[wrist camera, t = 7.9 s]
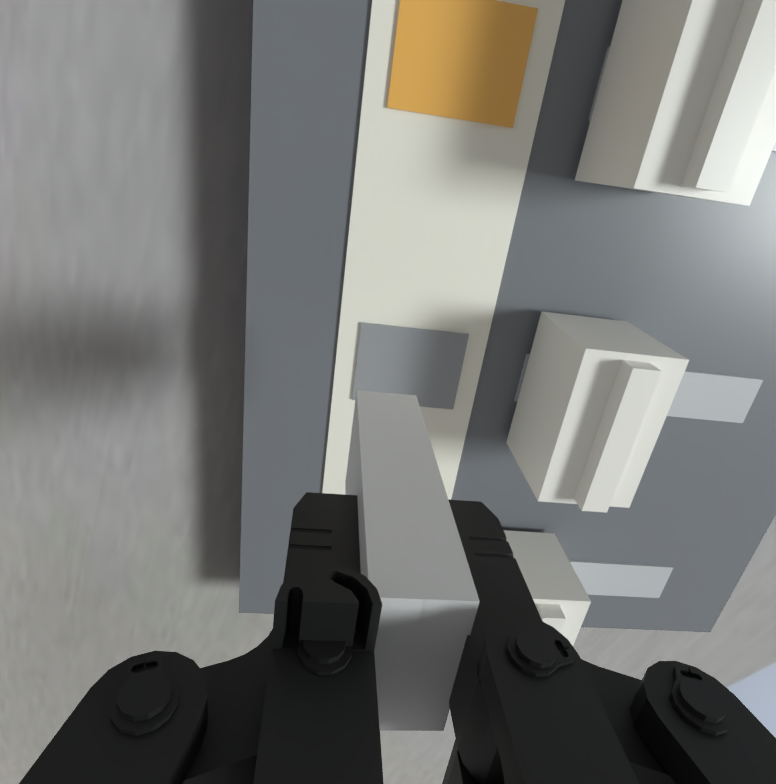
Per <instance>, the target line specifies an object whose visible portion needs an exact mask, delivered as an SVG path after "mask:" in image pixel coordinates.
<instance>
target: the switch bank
mask: <svg viewBox="0 0 776 784" xmlns="http://www.w3.org/2000/svg"><path fill="white" fill-rule="evenodd" d="M621 4H622V0H253V31H252V74H251V117H250V160H249V203H248V246H247V289H246V332H245V375H244V418H243V461H242V504H241V547H240V590H239V612H240V613H264V614H274V607H275V599H276V597H277V594H278V592H279V589H280V587H281V585H282V584H283V580H284V573H285V566H286V558H287V551H288V544H289V536H290V530H291V522H292V515H293V508H294V507H295V506H296V504H297V503H298V502H299V501H300V499H301V498H302V497H303V496H304V495H305V493H306V492H312V493H327V494H343V495H345V481H346V473H347V464H348V456H349V448H350V440H351V432H352V423H353V415H354V407H355V399H356V391H357V390H363V391H374V392H385V393H396V394H407V395H416V396H417V400H418V403H419V406H420V409H421V413H422V416H423V419H424V422H425V426H426V429H427V432H428V435H429V439H430V442H431V445H432V448H433V452H434V455H435V458H436V461H437V464H438V468H439V471H440V474H441V477H442V481H443V484H444V487H445V490H446V494H447V497H448V500H463V501H479V502H482V503H483V504H484V505H485V506H486V507H487V508H488V509H489V510H490V511H491V512H492V513H493V514H494V515H495V516H496V517H497V518H498V519H499V521H500V524H501V526H502V528H503V530H508V531H523V532H539V533H554V534H555V535H556V537H557V539H558V541H559V543H560V545H561V546H562V548H563V550H564V552H565V554H566V556H567V558H568V559H569V561H570V563H571V565H572V567H573V569H574V571H575V572H576V574H577V576H578V578H579V580H580V582H581V584H582V585H583V587H584V589H585V591H586V593H587V595H588V597H589V598H590V600H591V603H590V606H589V608H588V611H587V613H586V616H585V618H584V621H583V623H582V625H581V627H598V628H622V629H645V630H669V631H693V632H711V630H712V628H713V626H714V624H715V623H716V621H717V619H718V617H719V615H720V614H721V612H722V610H723V608H724V606H725V605H726V603H727V601H728V599H729V597H730V596H731V594H732V592H733V590H734V588H735V587H736V585H737V583H738V581H739V579H740V578H741V576H742V574H743V572H744V570H745V569H746V567H747V565H748V563H749V561H750V560H751V558H752V556H753V554H754V552H755V551H756V549H757V547H758V545H759V543H760V542H761V540H762V538H763V536H764V534H765V533H766V531H767V529H768V527H769V525H770V524H771V522H772V520H773V518H774V516H775V515H776V142H775V145H774V147H773V149H772V152H771V154H770V157H769V159H768V162H767V164H766V167H765V169H764V172H763V174H762V177H761V179H760V182H759V184H758V187H757V189H756V191H755V194H754V196H753V199H752V201H751V204H750V206H747V205H740V204H733V203H725V202H718V201H711V200H704V199H697V198H689V197H682V196H675V195H668V194H661V193H655V192H648V191H642V190H635V189H628V188H622V187H615V186H609V185H602V184H595V183H589V182H582V181H576V180H575V177H576V173H577V169H578V165H579V162H580V158H581V154H582V150H583V147H584V143H585V139H586V135H587V132H588V128H589V124H590V120H591V117H592V113H593V109H594V105H595V102H596V98H597V94H598V90H599V87H600V83H601V79H602V75H603V72H604V68H605V64H606V60H607V57H608V53H609V49H610V45H611V42H612V38H613V34H614V30H615V27H616V23H617V19H618V15H619V12H620V8H621ZM541 311H543V312H551V313H560V314H568V315H577V316H585V317H594V318H602V319H610V320H619V321H627V322H629V323H630V324H632V325H634V326H635V327H637V328H638V329H640V330H642V331H643V332H645V333H647V334H648V335H650V336H651V337H653V338H655V339H656V340H658V341H660V342H661V343H663V344H664V345H666V346H668V347H669V348H671V349H673V350H674V351H676V352H677V353H679V354H681V355H682V356H684V357H686V358H687V359H689V362H688V365H687V367H686V370H685V372H684V375H683V377H682V380H681V382H680V384H679V387H678V389H677V392H676V394H675V397H674V399H673V402H672V404H671V407H670V409H669V412H668V414H667V416H666V419H665V421H664V424H663V426H662V429H661V431H660V434H659V436H658V439H657V441H656V443H655V446H654V448H653V451H652V453H651V456H650V458H649V461H648V463H647V466H646V468H645V471H644V473H643V475H642V478H641V480H640V483H639V485H638V488H637V490H636V493H635V495H634V498H633V500H632V502H631V505H630V507H629V508H624V507H610V506H609V509H608V511H607V513H605V512H591V511H582V510H581V509H580V507H579V506H578V504H568V503H554V502H540V501H537V499H536V497H535V495H534V493H533V491H532V489H531V488H530V486H529V484H528V482H527V480H526V478H525V476H524V475H523V473H522V471H521V469H520V467H519V465H518V463H517V462H516V460H515V458H514V456H513V454H512V452H511V450H510V449H509V447H508V445H507V443H506V442H507V438H508V435H509V431H510V427H511V423H512V420H513V416H514V412H515V408H516V405H517V401H518V397H519V394H520V390H521V386H522V382H523V379H524V375H525V371H526V367H527V364H528V360H529V356H530V352H531V349H532V345H533V341H534V338H535V334H536V330H537V326H538V323H539V319H540V315H541Z"/></svg>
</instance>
